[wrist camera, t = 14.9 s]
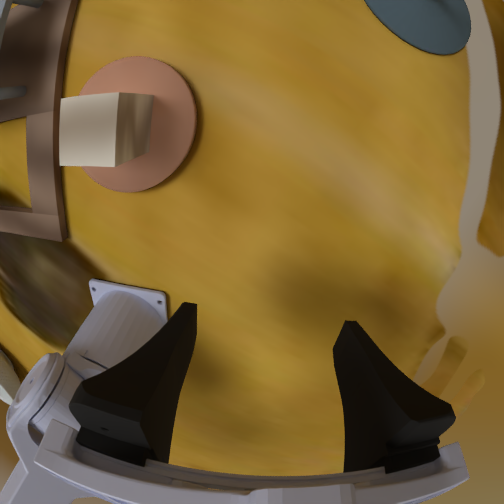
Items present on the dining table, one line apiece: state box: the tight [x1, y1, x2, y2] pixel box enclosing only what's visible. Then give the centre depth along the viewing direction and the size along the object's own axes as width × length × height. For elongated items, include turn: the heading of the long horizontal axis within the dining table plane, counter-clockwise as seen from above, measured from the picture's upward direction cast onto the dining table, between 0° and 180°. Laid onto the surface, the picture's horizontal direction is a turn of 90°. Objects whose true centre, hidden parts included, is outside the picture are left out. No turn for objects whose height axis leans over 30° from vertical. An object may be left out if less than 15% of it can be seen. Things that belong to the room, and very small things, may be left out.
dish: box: [78, 56, 197, 192], centre depth 17 cm, size 10×10×1 cm
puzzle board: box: [0, 0, 78, 242], centre depth 15 cm, size 24×16×1 cm, turn 172°
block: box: [59, 92, 154, 167], centre depth 14 cm, size 4×4×5 cm
